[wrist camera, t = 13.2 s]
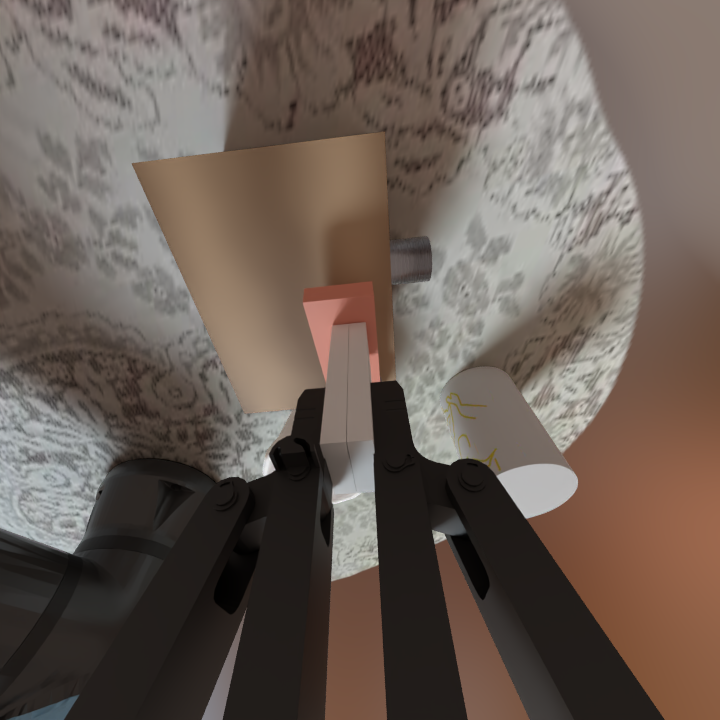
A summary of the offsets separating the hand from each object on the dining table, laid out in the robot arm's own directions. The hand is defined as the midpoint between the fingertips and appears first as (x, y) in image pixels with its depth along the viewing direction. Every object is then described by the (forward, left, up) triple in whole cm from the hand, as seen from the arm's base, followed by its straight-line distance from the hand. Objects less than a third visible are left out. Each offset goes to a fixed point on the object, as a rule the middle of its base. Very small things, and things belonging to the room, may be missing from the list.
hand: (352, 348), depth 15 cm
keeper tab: (0, -1, -2) cm, 2 cm away
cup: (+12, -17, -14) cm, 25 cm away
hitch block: (-3, +1, -13) cm, 14 cm away
